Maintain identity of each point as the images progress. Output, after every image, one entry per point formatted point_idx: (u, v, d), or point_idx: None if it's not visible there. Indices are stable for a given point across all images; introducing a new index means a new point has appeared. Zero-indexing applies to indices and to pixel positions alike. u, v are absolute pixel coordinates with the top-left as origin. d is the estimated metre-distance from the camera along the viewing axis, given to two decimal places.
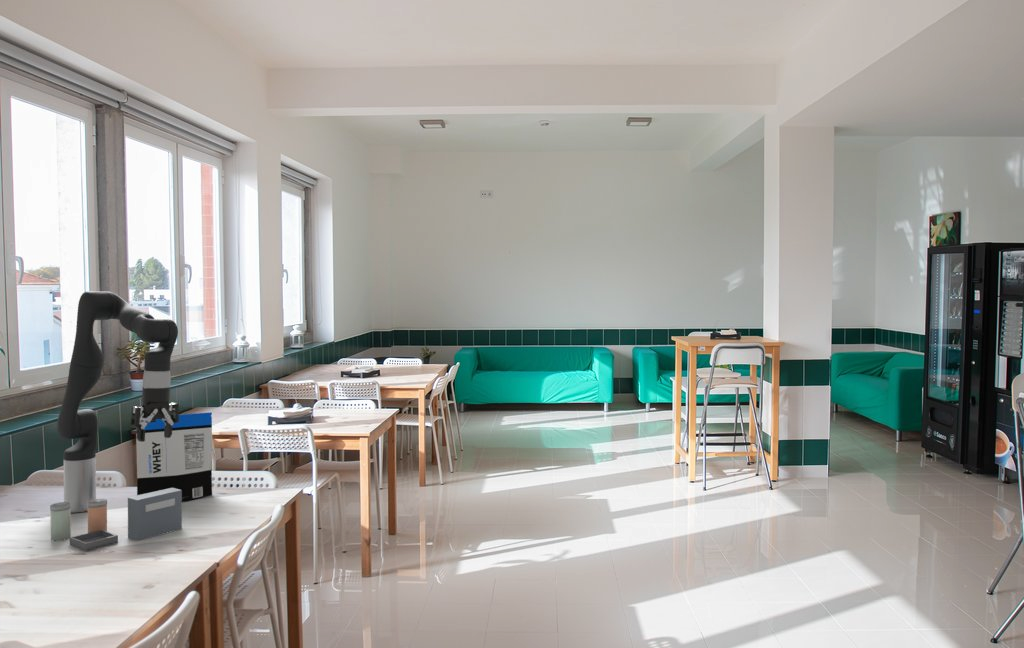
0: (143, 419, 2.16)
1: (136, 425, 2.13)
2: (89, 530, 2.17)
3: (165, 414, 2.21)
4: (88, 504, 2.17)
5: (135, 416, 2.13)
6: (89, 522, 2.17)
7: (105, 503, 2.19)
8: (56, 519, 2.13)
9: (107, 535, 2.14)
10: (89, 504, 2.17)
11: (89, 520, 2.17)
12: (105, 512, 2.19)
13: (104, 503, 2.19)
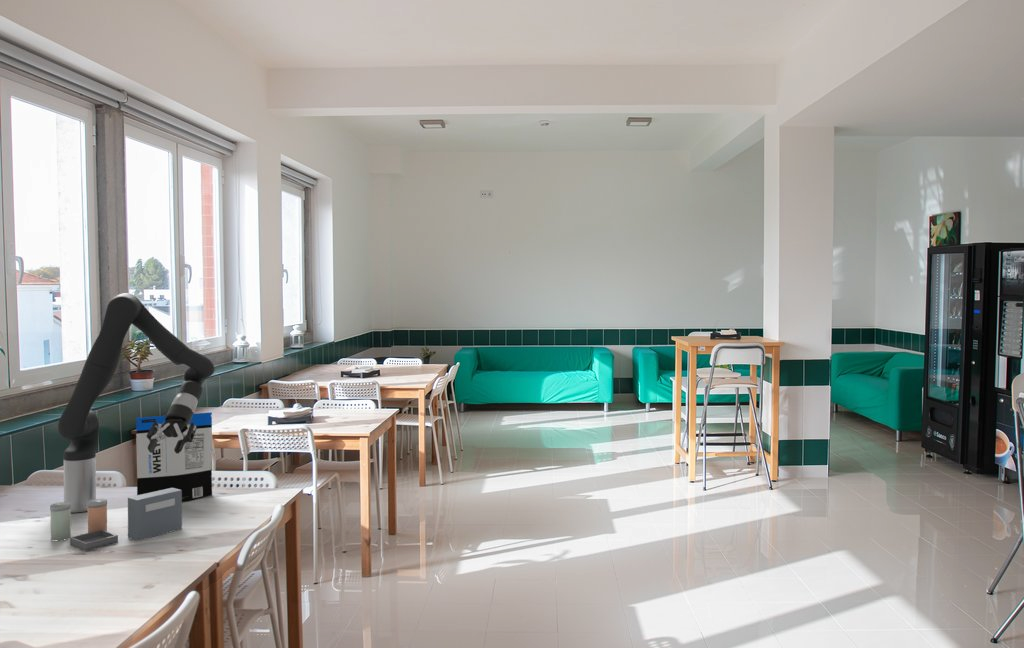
0: (182, 435, 2.34)
1: None
2: (89, 530, 2.17)
3: None
4: (88, 504, 2.17)
5: (194, 433, 2.35)
6: (89, 522, 2.17)
7: (105, 503, 2.19)
8: (56, 519, 2.13)
9: (107, 535, 2.14)
10: (89, 504, 2.17)
11: (89, 520, 2.17)
12: (105, 512, 2.19)
13: (104, 503, 2.19)
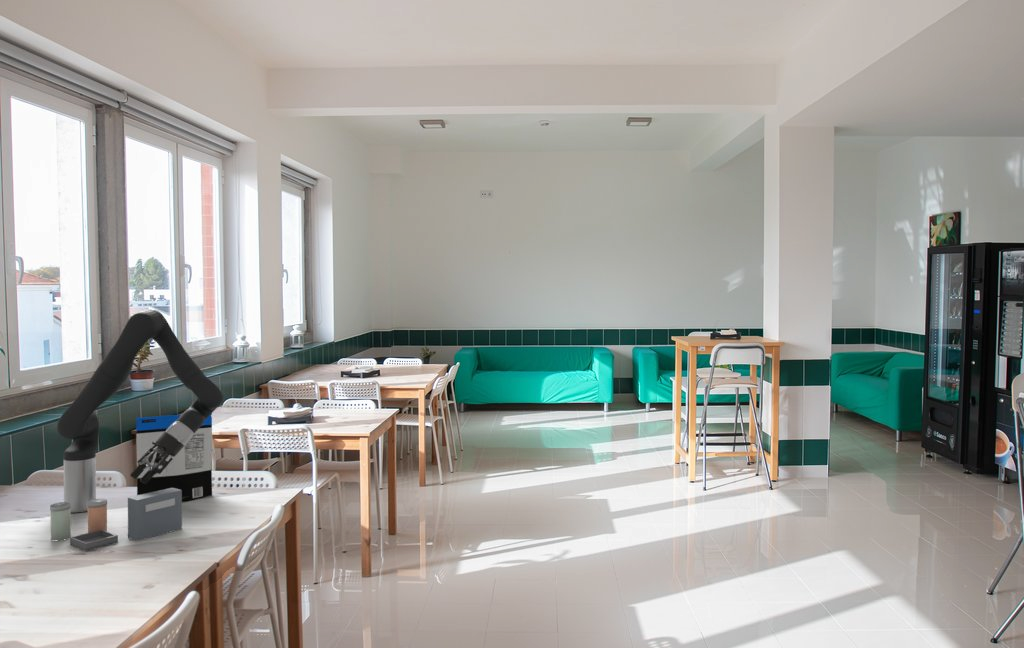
0: None
1: None
2: (89, 530, 2.17)
3: None
4: (88, 504, 2.17)
5: (166, 464, 2.27)
6: (89, 522, 2.17)
7: (105, 503, 2.19)
8: (56, 519, 2.13)
9: (107, 535, 2.14)
10: (89, 504, 2.17)
11: (89, 520, 2.17)
12: (105, 512, 2.19)
13: (104, 503, 2.19)
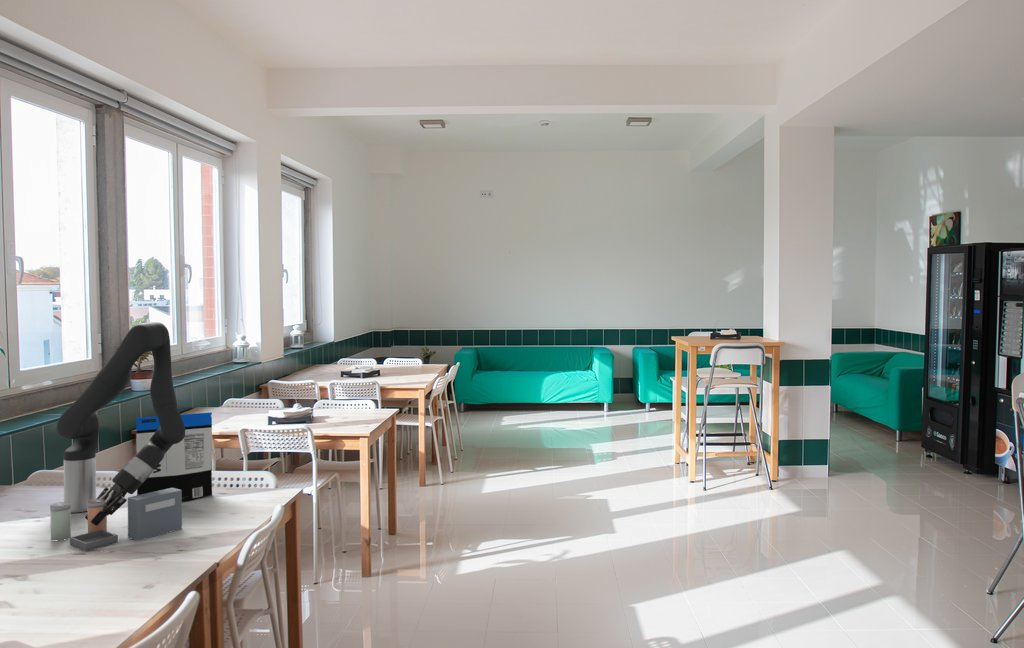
0: None
1: None
2: (89, 530, 2.17)
3: None
4: (88, 504, 2.17)
5: (118, 506, 2.18)
6: (89, 522, 2.17)
7: None
8: (56, 519, 2.13)
9: (107, 535, 2.14)
10: (89, 504, 2.17)
11: (89, 520, 2.17)
12: None
13: None
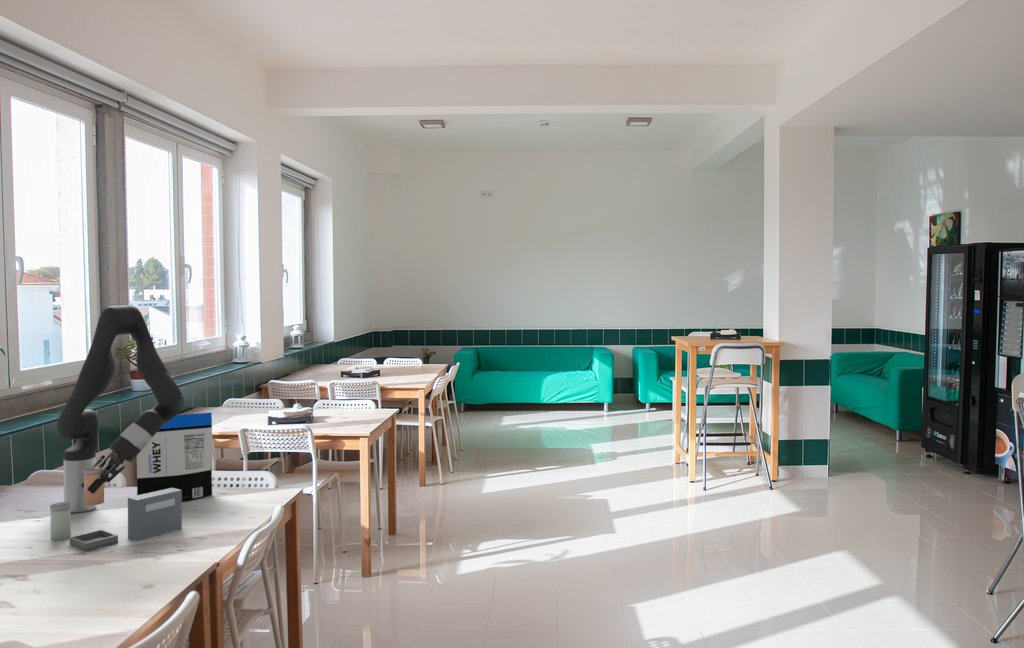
0: None
1: None
2: (85, 498, 2.08)
3: None
4: (84, 471, 2.08)
5: (116, 473, 2.09)
6: (85, 490, 2.08)
7: None
8: (56, 519, 2.13)
9: (107, 535, 2.14)
10: (85, 471, 2.08)
11: (85, 488, 2.08)
12: None
13: None
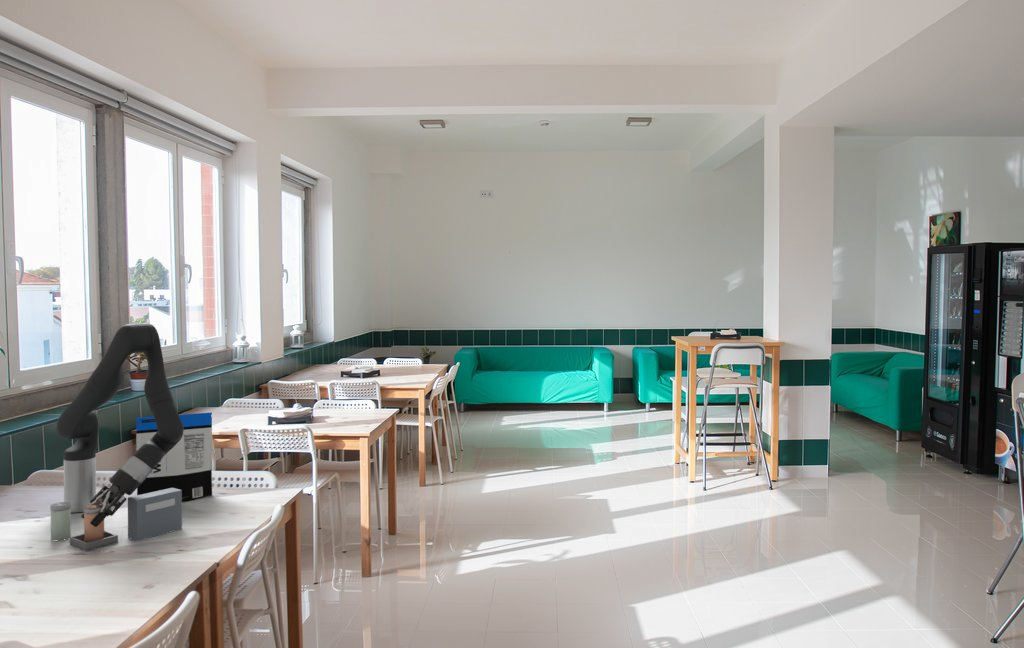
0: None
1: None
2: (85, 537, 2.09)
3: None
4: (84, 510, 2.09)
5: (119, 505, 2.09)
6: (85, 529, 2.09)
7: None
8: (56, 518, 2.13)
9: (107, 535, 2.14)
10: (85, 510, 2.08)
11: (85, 527, 2.09)
12: None
13: None
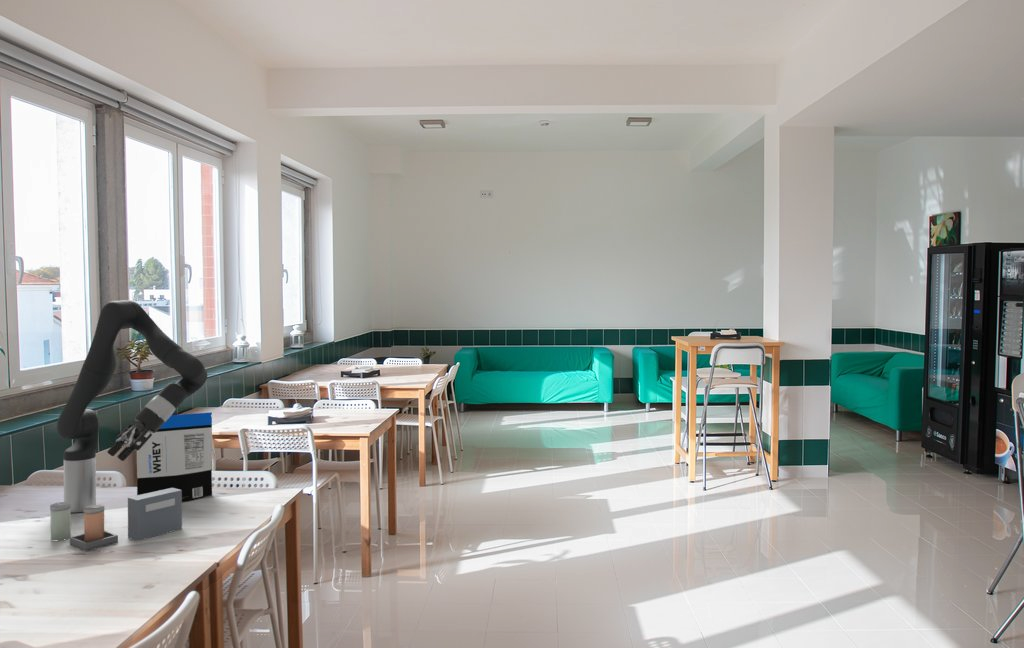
0: None
1: None
2: (86, 537, 2.09)
3: None
4: (84, 510, 2.09)
5: (145, 440, 2.14)
6: (86, 529, 2.09)
7: (102, 509, 2.11)
8: (56, 518, 2.13)
9: (107, 535, 2.14)
10: (86, 510, 2.08)
11: (86, 527, 2.09)
12: (102, 519, 2.11)
13: (101, 509, 2.10)
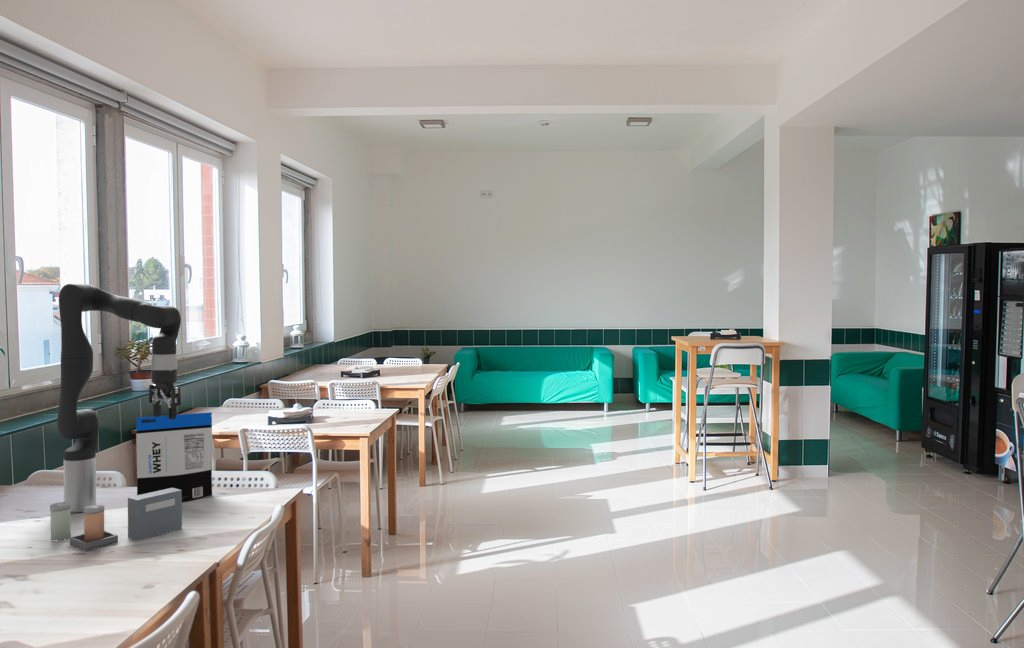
0: None
1: None
2: (85, 537, 2.09)
3: None
4: (84, 510, 2.09)
5: (179, 395, 2.34)
6: (85, 529, 2.09)
7: (102, 509, 2.11)
8: (56, 519, 2.13)
9: (107, 535, 2.14)
10: (85, 510, 2.08)
11: (86, 527, 2.09)
12: (102, 519, 2.11)
13: (101, 509, 2.10)
